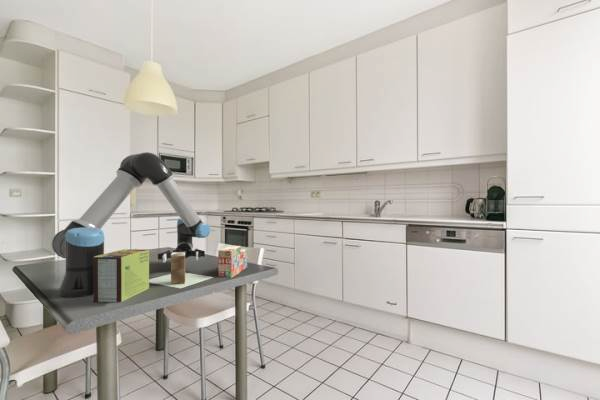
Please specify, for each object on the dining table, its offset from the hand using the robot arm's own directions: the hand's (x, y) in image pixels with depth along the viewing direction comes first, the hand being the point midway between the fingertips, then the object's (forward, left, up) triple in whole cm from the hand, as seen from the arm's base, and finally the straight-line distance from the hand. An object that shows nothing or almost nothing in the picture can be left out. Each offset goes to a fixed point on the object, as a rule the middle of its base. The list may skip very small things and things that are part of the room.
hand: (180, 258), depth 129 cm
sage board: (+3, -3, -9) cm, 10 cm away
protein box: (+1, -26, -9) cm, 28 cm away
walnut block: (+7, -7, -8) cm, 13 cm away
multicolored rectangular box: (+14, +19, -9) cm, 25 cm away
